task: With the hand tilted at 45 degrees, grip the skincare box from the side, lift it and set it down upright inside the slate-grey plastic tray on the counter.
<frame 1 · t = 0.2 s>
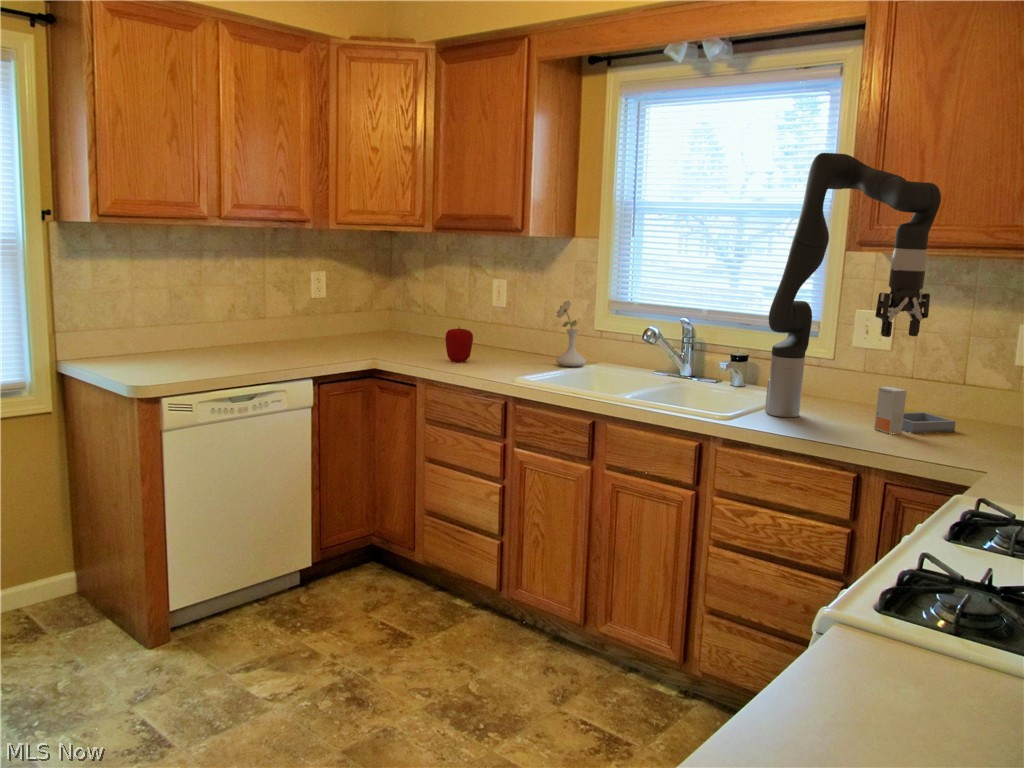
hand: (899, 336, 211), 29 cm above the table, tool pointing down, fingers open, 8 cm apart
tray: (917, 427, 246), on the table
skincare box: (887, 432, 239), on the table
apple: (458, 362, 333), on the table
flower in vase: (569, 366, 332), on the table
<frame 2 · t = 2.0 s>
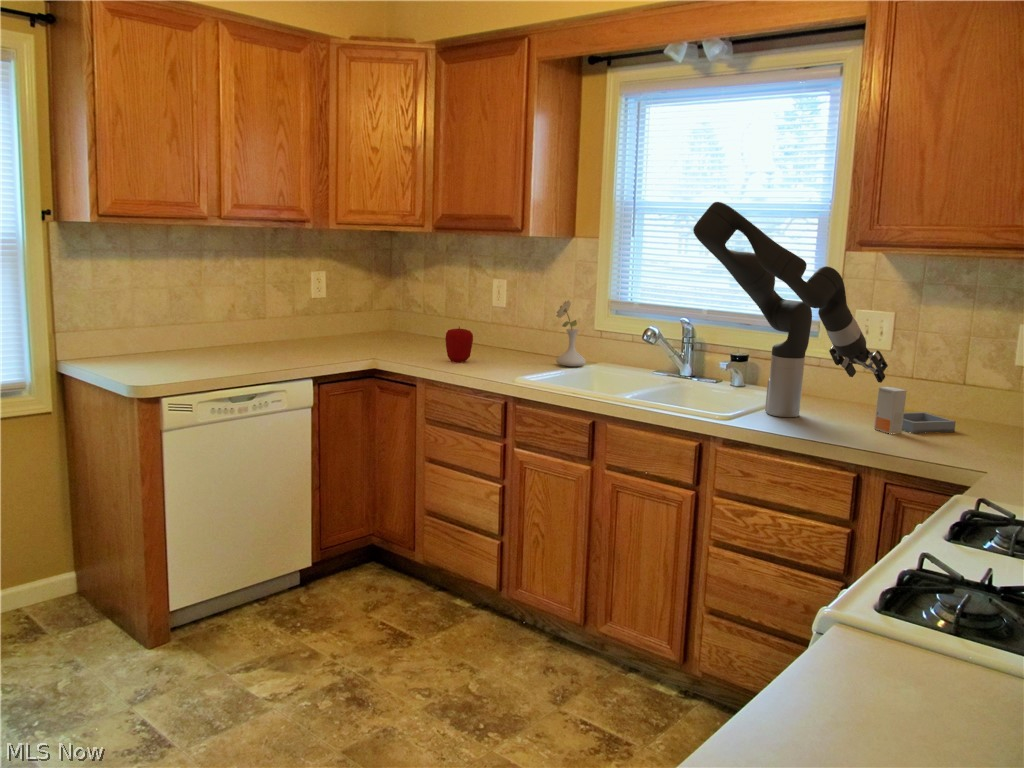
hand: (867, 377, 230), 16 cm above the table, tool tilted 45°, fingers open, 8 cm apart
nothing on the table moved.
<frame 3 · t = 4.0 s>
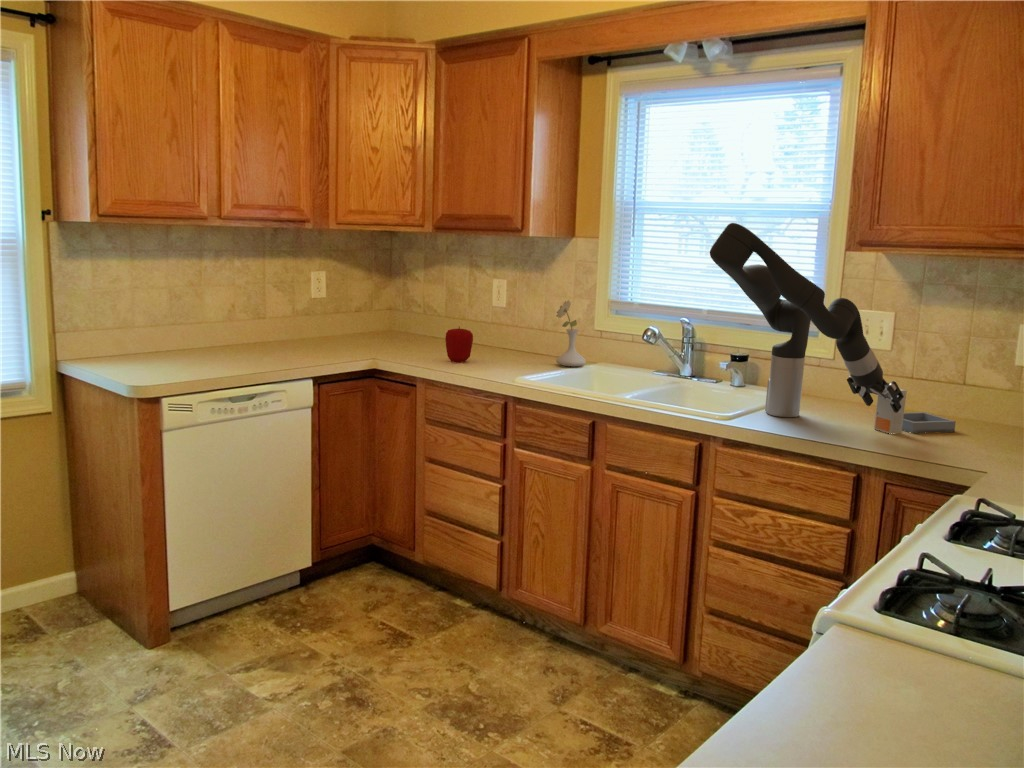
hand: (884, 407, 235), 7 cm above the table, tool tilted 40°, fingers open, 8 cm apart
nothing on the table moved.
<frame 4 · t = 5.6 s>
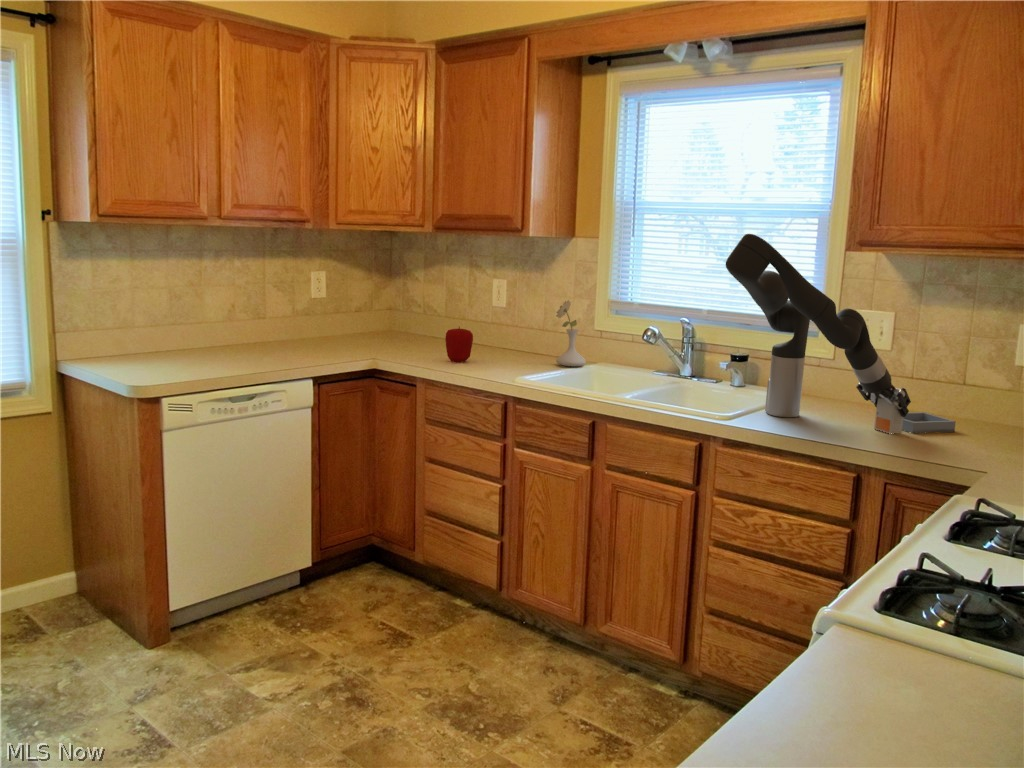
hand: (893, 411, 239), 5 cm above the table, tool tilted 45°, fingers closed on skincare box, 6 cm apart
skincare box: (887, 432, 239), on the table, touching gripper
everything else where it was.
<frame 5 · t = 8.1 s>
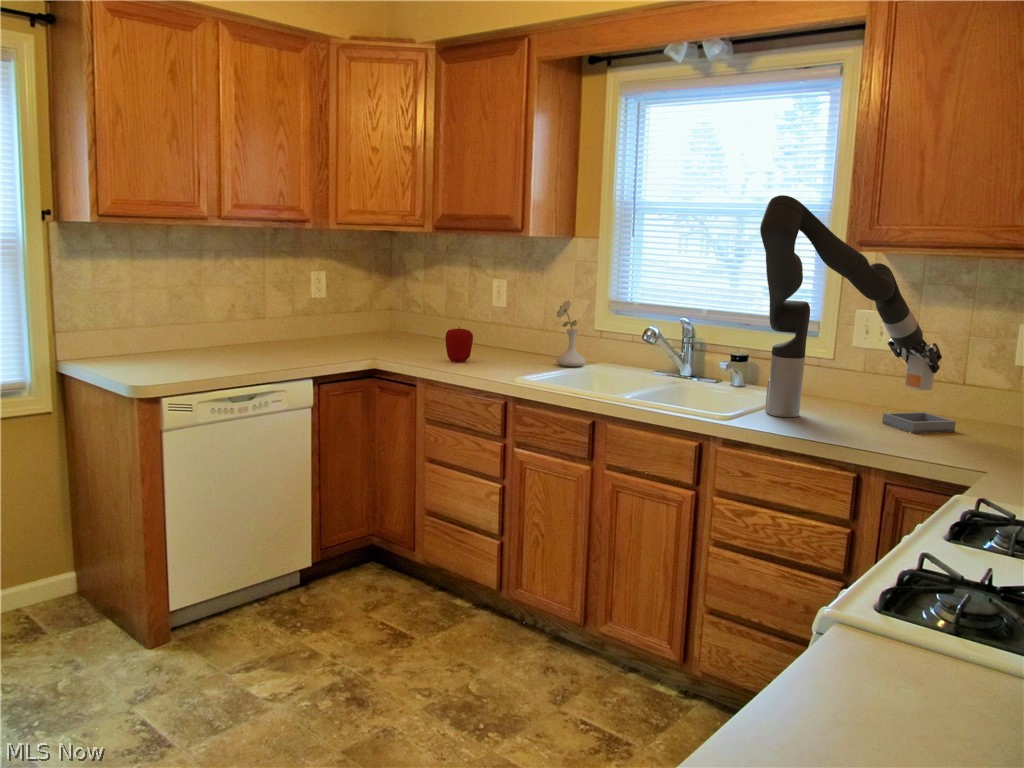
hand: (924, 368, 241), 17 cm above the table, tool tilted 45°, fingers closed on skincare box, 6 cm apart
skincare box: (918, 388, 241), point 11 cm above the table, touching gripper
everything else where it was.
when the fingers open (7 cm above the table, at t = 10.7 s): skincare box drops 1 cm, resting on tray.
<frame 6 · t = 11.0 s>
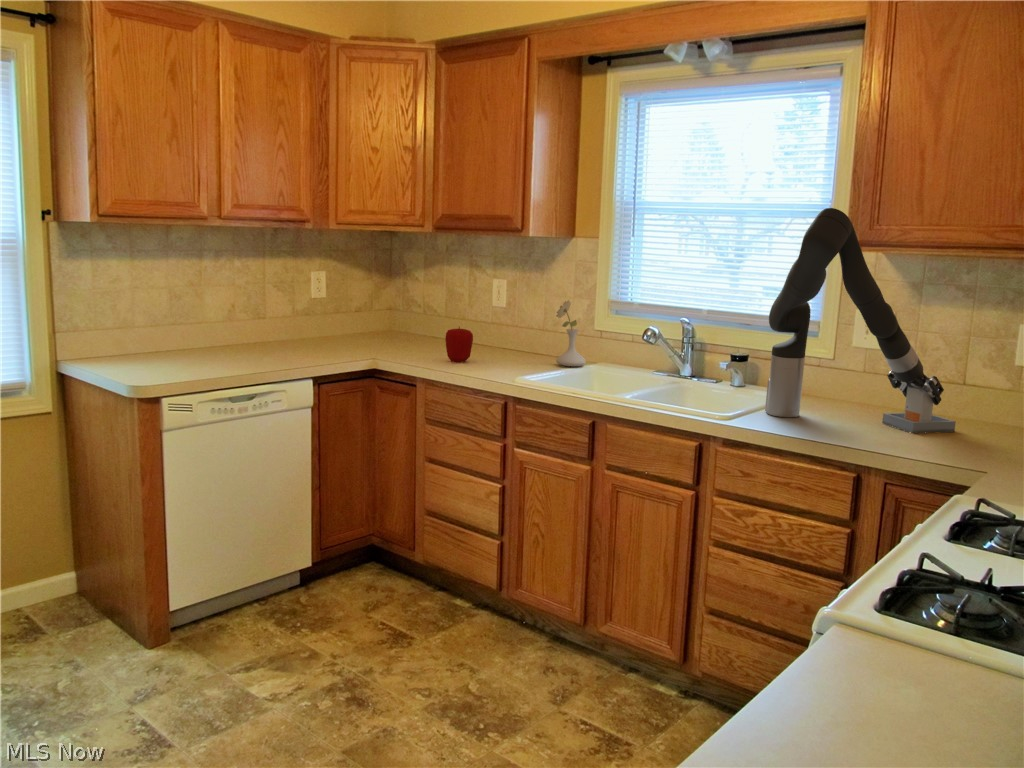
hand: (923, 399, 245), 8 cm above the table, tool tilted 45°, fingers open, 8 cm apart
skincare box: (916, 425, 246), point 1 cm above the table, touching tray
everything else where it was.
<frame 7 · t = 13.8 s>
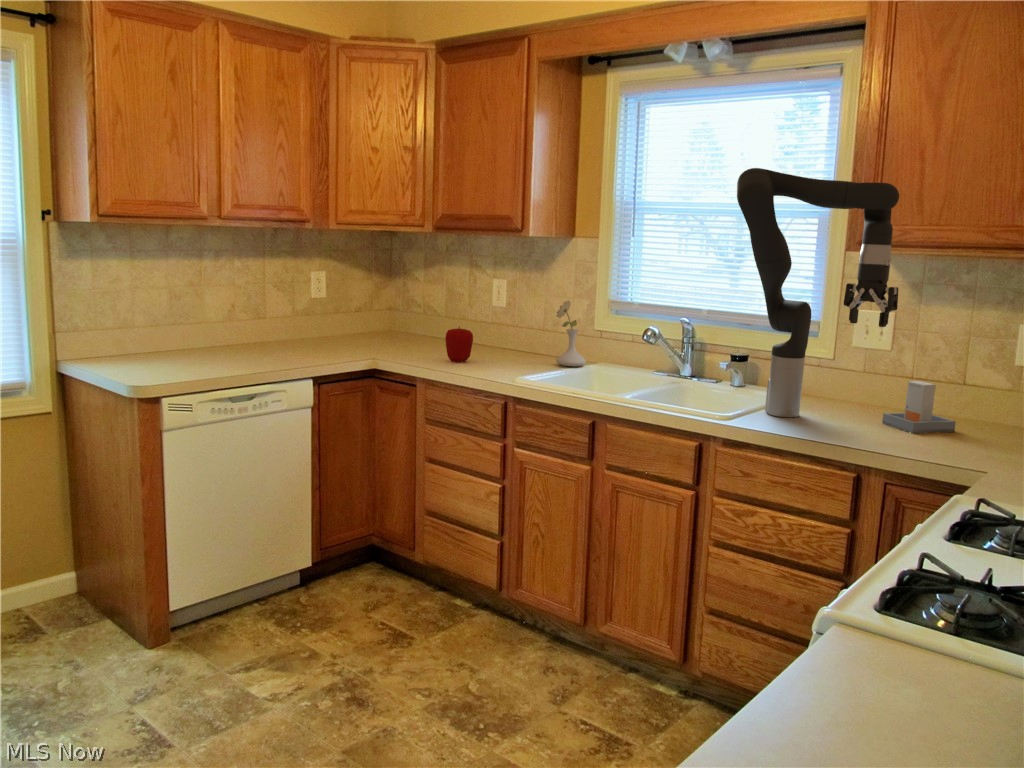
hand: (867, 325, 230), 29 cm above the table, tool pointing down, fingers open, 8 cm apart
nothing on the table moved.
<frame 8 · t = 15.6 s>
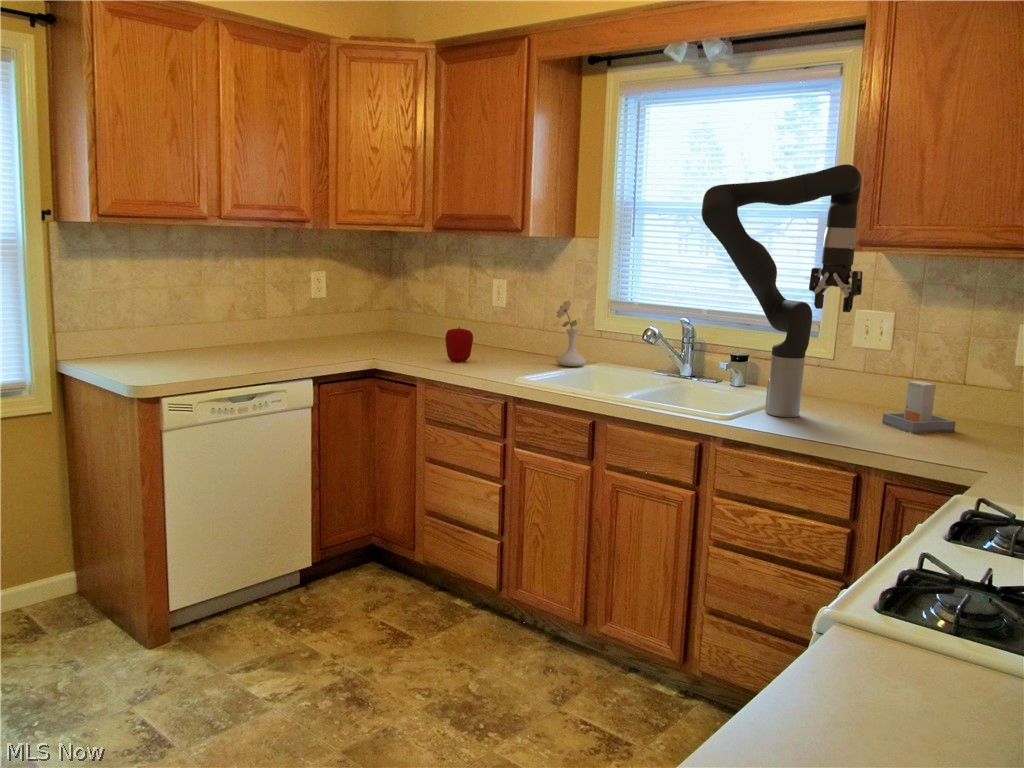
hand: (832, 310, 225), 33 cm above the table, tool pointing down, fingers open, 8 cm apart
nothing on the table moved.
at the end: skincare box inside the target area on the tray (0.3 cm from its centre), point 0.6 cm above the tray's base; skincare box tilted 0°; the gripper is holding nothing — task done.
